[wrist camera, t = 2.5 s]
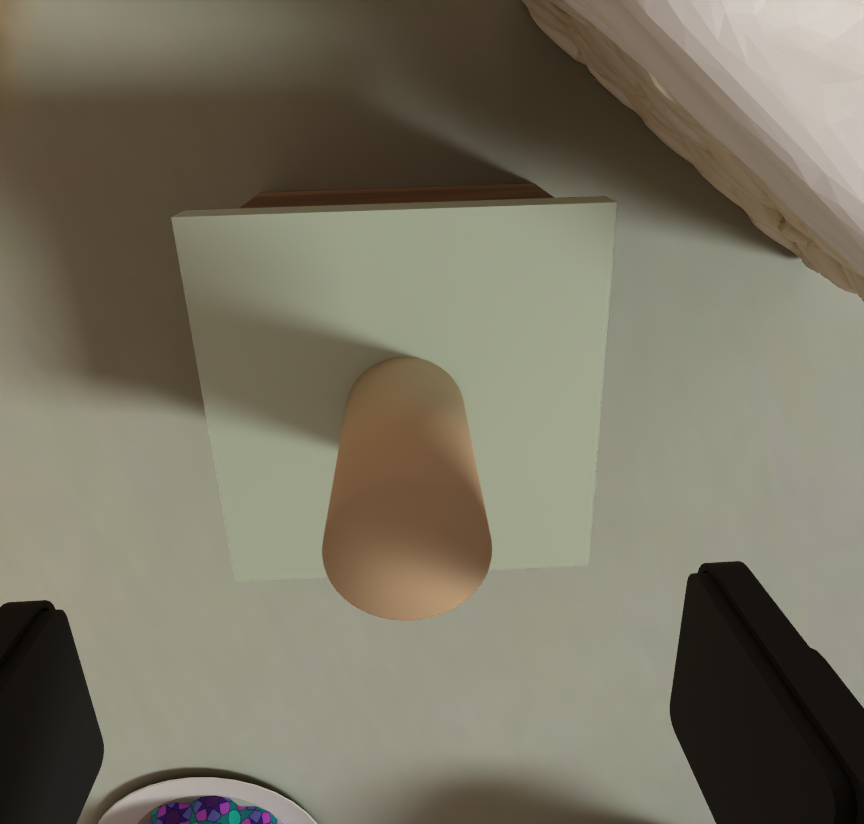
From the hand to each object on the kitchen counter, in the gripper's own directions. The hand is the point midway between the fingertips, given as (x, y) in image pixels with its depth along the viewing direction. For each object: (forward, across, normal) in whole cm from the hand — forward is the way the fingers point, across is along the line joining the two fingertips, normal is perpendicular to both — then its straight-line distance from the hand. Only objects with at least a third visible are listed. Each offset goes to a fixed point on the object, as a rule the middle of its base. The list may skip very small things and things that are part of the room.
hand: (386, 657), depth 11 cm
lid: (+10, -1, -1) cm, 10 cm away
